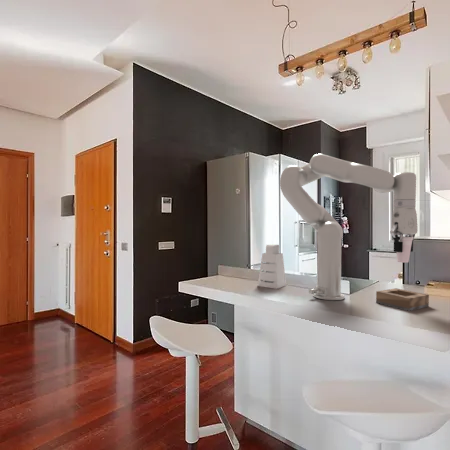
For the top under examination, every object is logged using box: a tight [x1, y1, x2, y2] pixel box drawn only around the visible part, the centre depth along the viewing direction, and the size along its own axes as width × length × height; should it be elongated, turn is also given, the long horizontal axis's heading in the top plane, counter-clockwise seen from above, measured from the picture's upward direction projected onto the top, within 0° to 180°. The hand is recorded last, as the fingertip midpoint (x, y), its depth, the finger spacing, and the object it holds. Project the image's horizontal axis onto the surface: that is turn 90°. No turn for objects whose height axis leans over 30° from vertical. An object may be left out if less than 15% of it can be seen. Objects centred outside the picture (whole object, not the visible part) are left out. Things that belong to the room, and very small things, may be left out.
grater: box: [257, 244, 287, 289], centre depth 159 cm, size 10×10×20 cm
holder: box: [375, 288, 430, 312], centre depth 126 cm, size 13×13×4 cm
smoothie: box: [396, 235, 413, 264], centre depth 125 cm, size 6×6×14 cm
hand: (403, 251), depth 126 cm, fingers closed on smoothie, 6 cm apart
